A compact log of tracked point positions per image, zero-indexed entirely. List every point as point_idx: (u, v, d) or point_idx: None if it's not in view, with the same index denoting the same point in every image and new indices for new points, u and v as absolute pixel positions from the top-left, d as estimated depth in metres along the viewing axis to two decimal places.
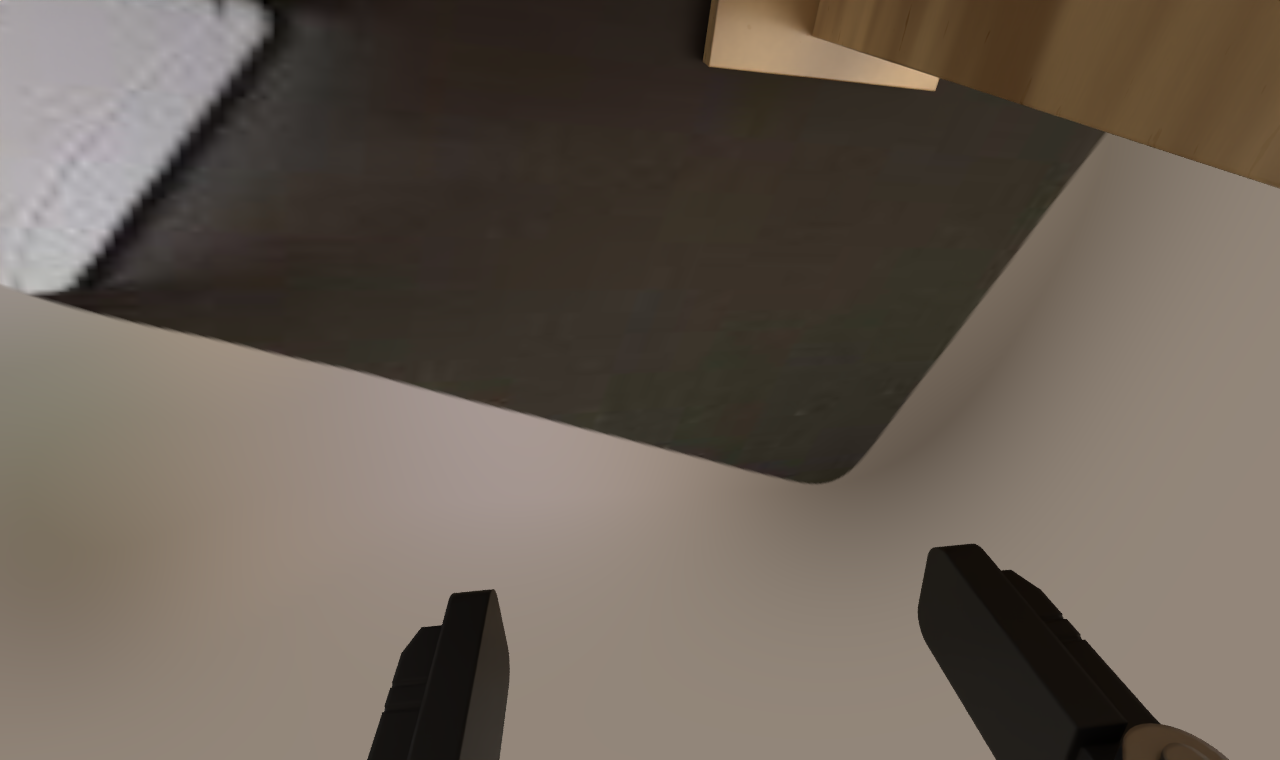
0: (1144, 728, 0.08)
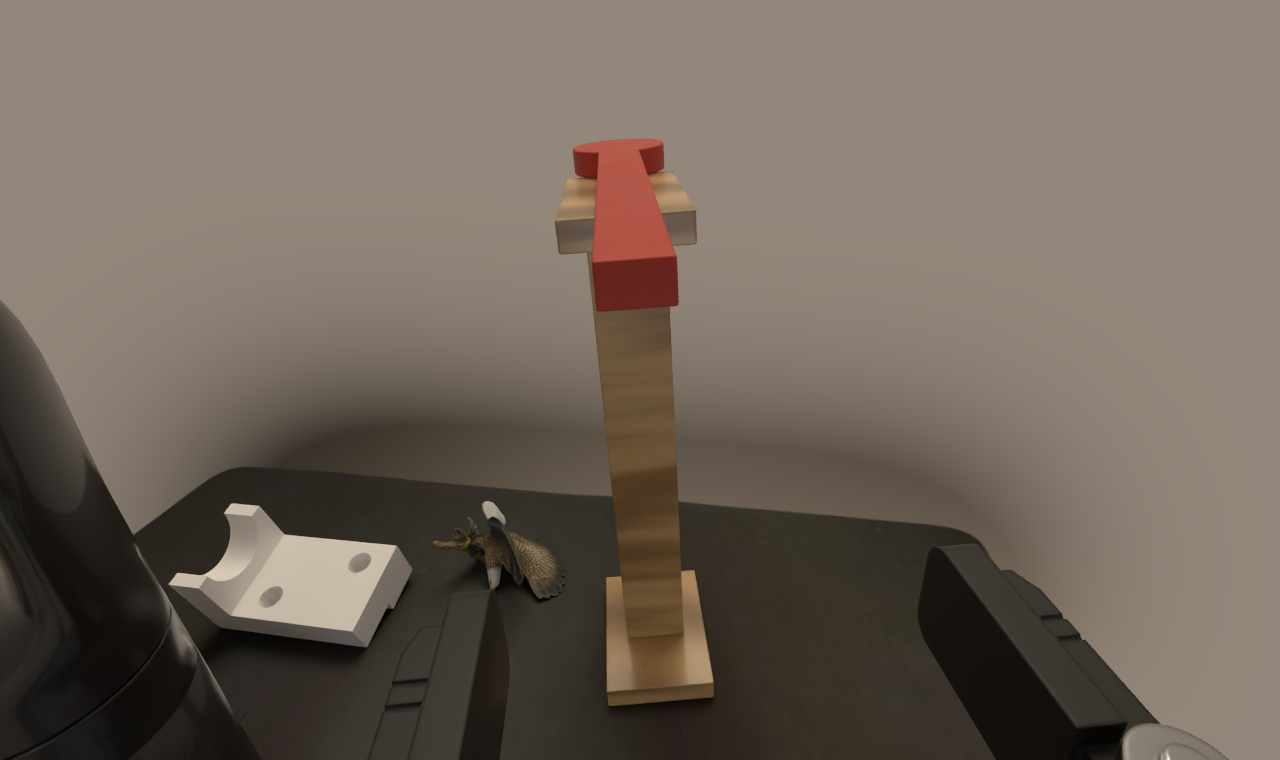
0: (1144, 728, 0.08)
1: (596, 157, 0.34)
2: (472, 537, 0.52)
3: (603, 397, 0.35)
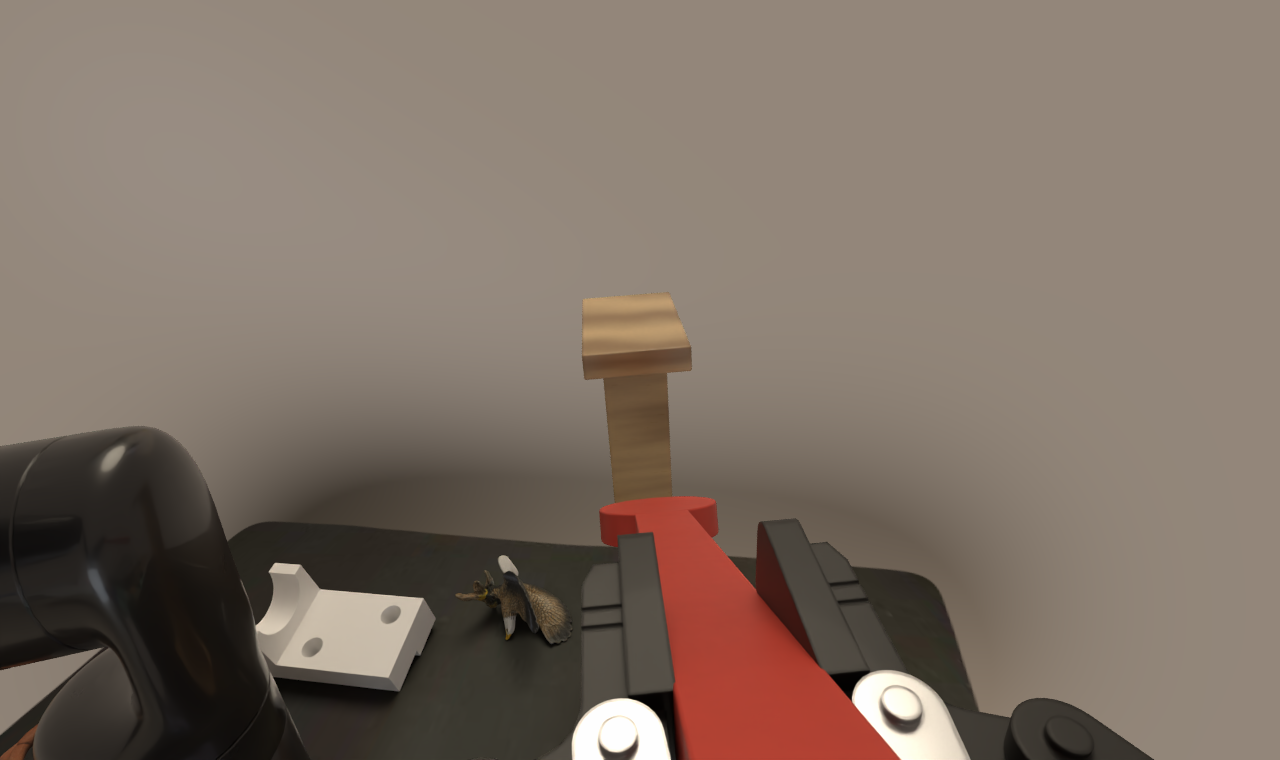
0: (877, 674, 0.09)
1: (631, 520, 0.25)
2: (489, 589, 0.58)
3: (613, 478, 0.42)
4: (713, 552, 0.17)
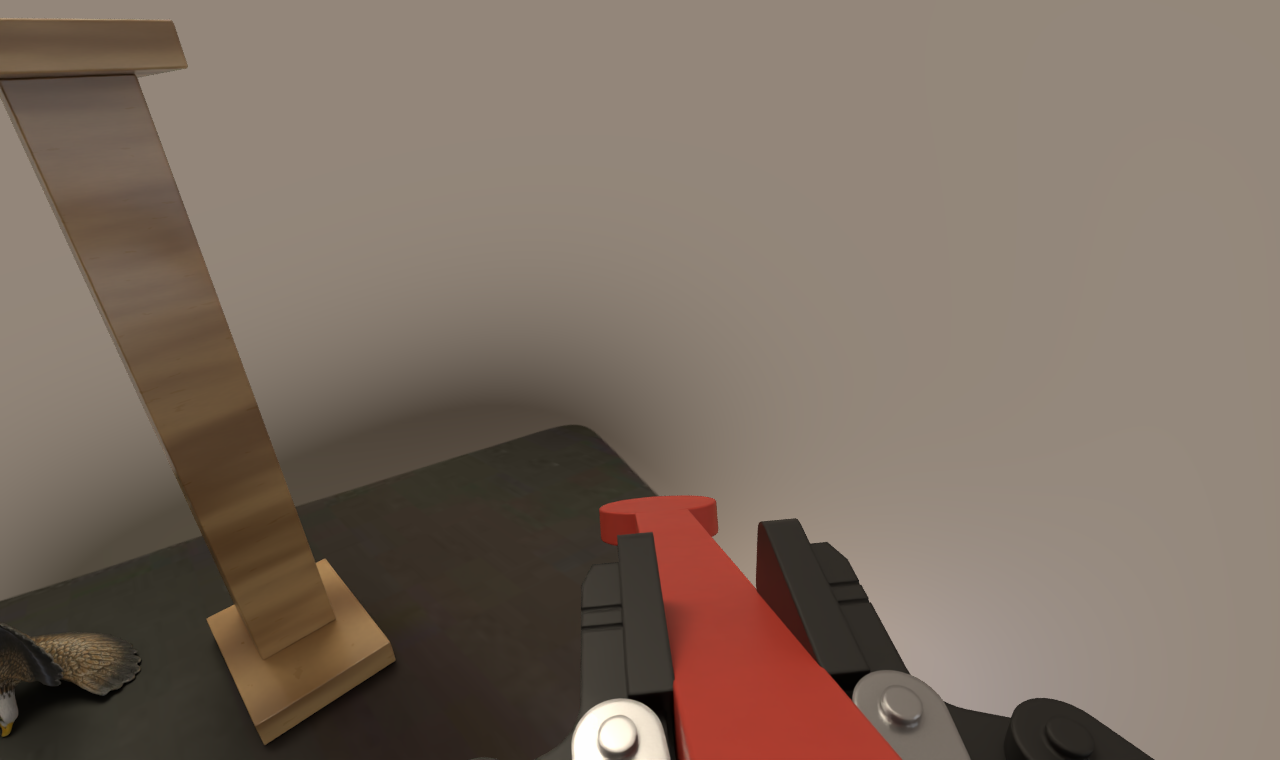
0: (877, 674, 0.09)
1: (631, 519, 0.25)
2: None
3: (114, 331, 0.26)
4: (713, 551, 0.17)
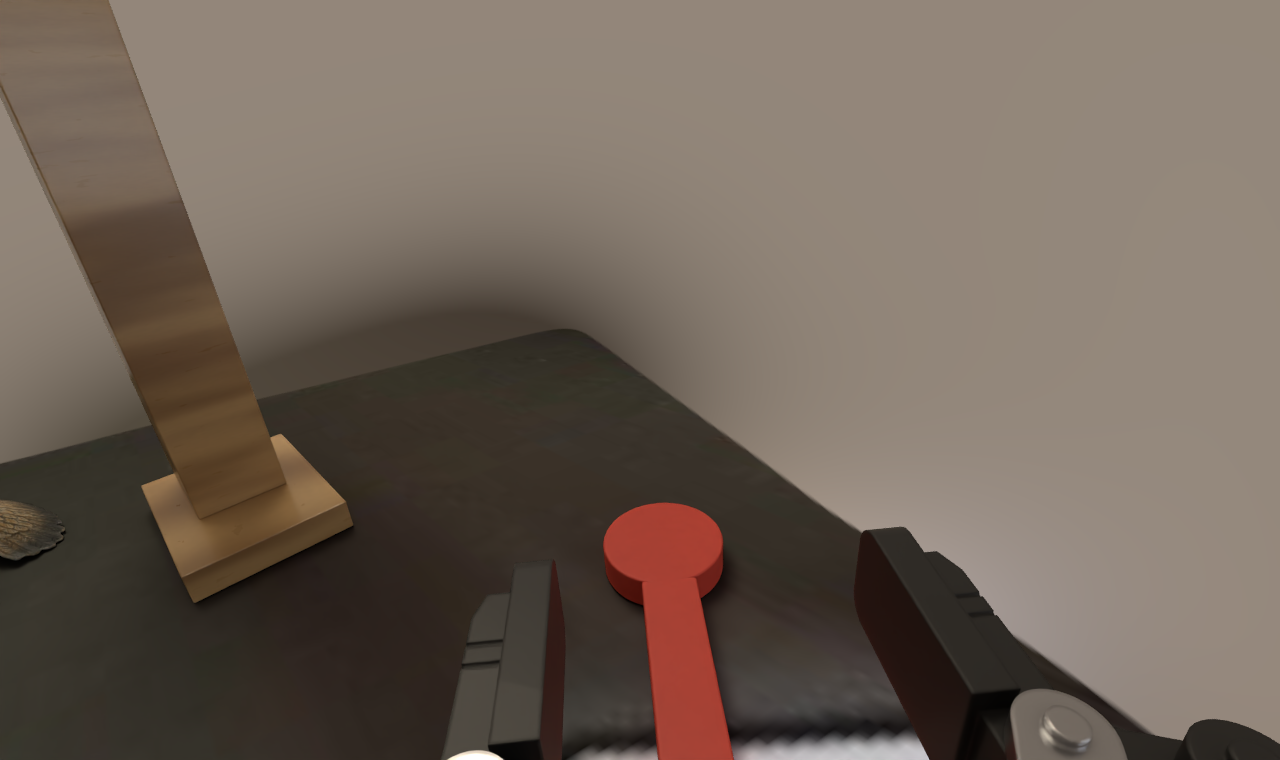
0: (1033, 693, 0.08)
1: (638, 584, 0.25)
2: None
3: None
4: None
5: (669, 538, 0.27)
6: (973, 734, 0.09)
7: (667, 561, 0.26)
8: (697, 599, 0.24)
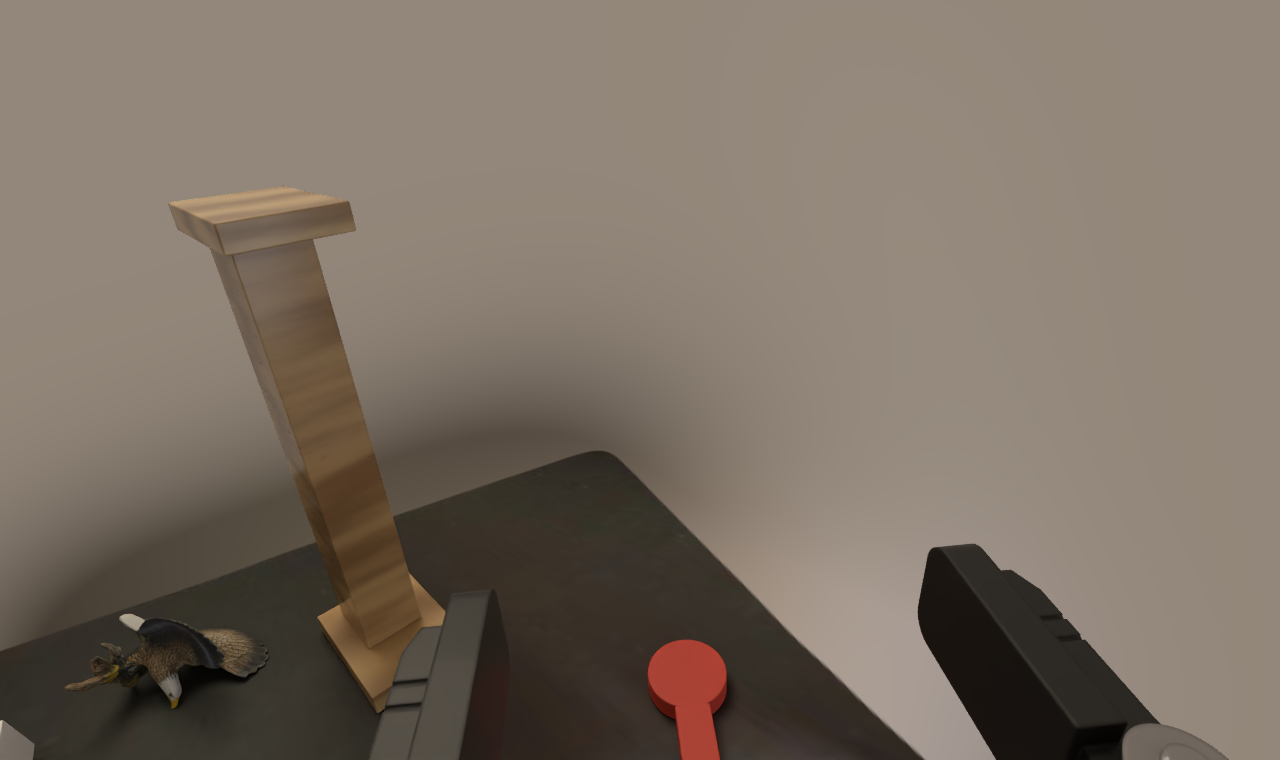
0: (1144, 728, 0.08)
1: (672, 707, 0.39)
2: (120, 661, 0.42)
3: (285, 405, 0.35)
4: None
5: (691, 670, 0.41)
6: None
7: (690, 690, 0.40)
8: (710, 720, 0.38)
